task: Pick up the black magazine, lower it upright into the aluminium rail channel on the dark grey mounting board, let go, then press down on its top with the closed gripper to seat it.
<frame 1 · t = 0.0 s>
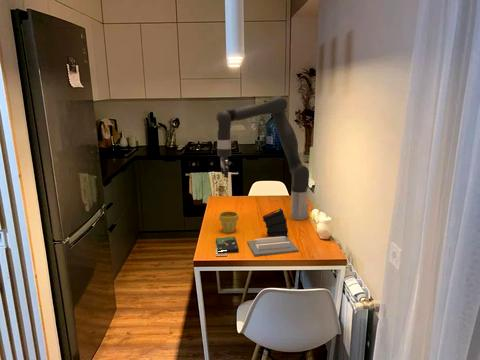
hand: (224, 175, 210), 29 cm above the table, tool pointing down, fingers open, 8 cm apart
magazine: (275, 235, 200), on the table
disk drive: (226, 248, 187), on the table
plant pot: (229, 230, 208), on the table
rail board: (272, 247, 186), on the table
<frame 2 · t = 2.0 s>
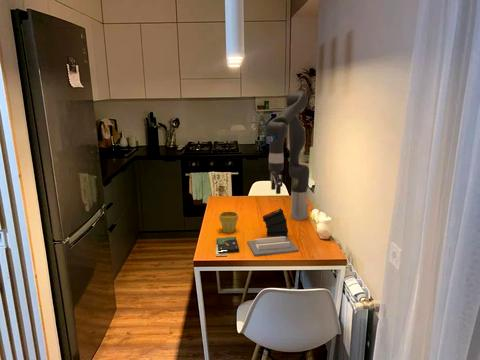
hand: (275, 191, 194), 25 cm above the table, tool pointing down, fingers open, 8 cm apart
nothing on the table moved.
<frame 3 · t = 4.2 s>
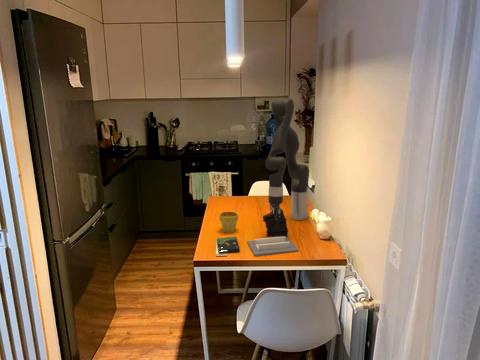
hand: (275, 224, 199), 6 cm above the table, tool pointing down, fingers closed on magazine, 4 cm apart
magazine: (275, 235, 200), on the table, touching gripper
everything else where it was.
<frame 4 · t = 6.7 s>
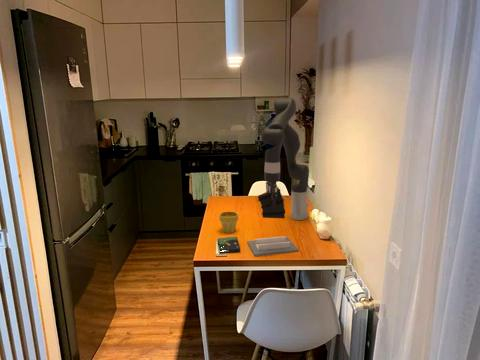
hand: (271, 204, 181), 22 cm above the table, tool pointing down, fingers closed on magazine, 4 cm apart
magazine: (271, 217, 183), point 15 cm above the table, touching gripper
when the fingers open (9 cm above the table, at t = 9.6 s): magazine stays where it is, resting on rail board.
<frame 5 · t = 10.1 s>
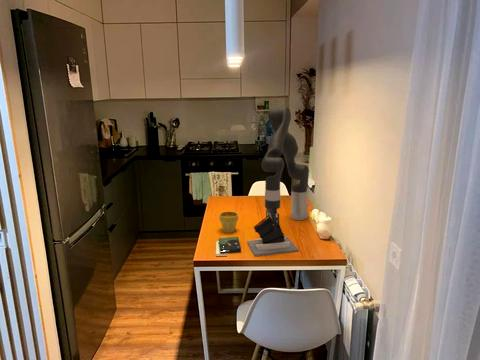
hand: (272, 229, 184), 10 cm above the table, tool pointing down, fingers open, 8 cm apart
magazine: (272, 244, 185), point 2 cm above the table, touching rail board
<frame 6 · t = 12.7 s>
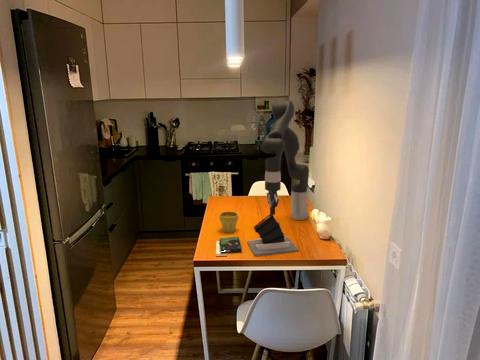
hand: (272, 214, 182), 18 cm above the table, tool pointing down, fingers closed
magazine: (272, 244, 185), point 2 cm above the table, touching gripper, rail board
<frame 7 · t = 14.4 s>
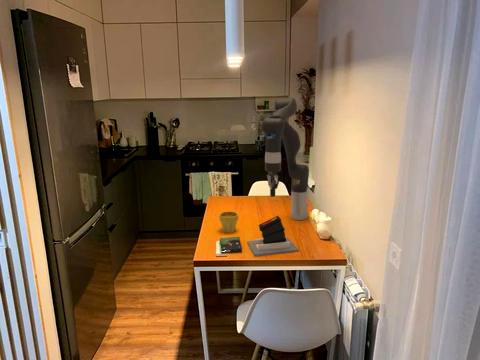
hand: (272, 196, 179), 27 cm above the table, tool pointing down, fingers closed
magazine: (272, 245, 185), point 1 cm above the table, touching rail board
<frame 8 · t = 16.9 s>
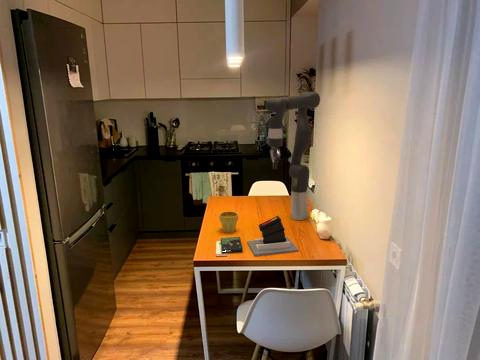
hand: (275, 168, 200), 35 cm above the table, tool pointing down, fingers closed
at the end: magazine inside the target area on the rail board (0.2 cm from its centre), point 1.0 cm above the rail board's base; magazine tilted 0°; the gripper is holding nothing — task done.
